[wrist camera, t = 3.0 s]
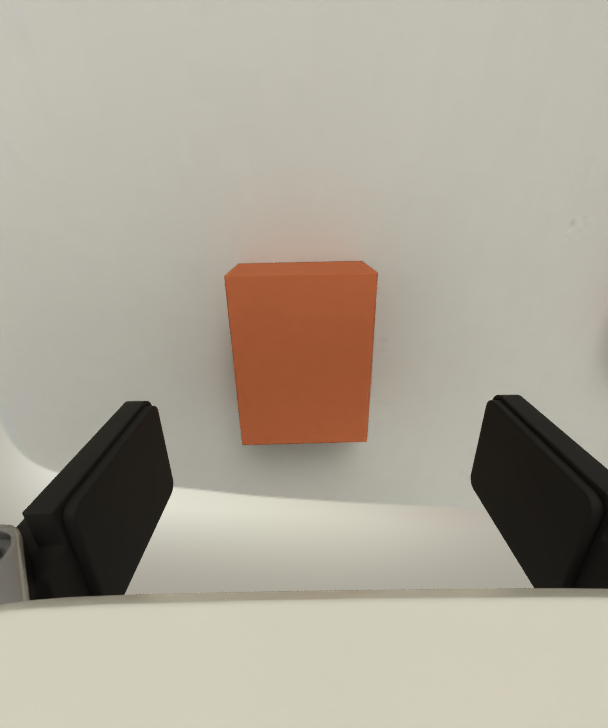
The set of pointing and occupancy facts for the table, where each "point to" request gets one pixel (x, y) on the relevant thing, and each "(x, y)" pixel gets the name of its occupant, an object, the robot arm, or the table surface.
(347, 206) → the table surface
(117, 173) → the table surface
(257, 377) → the orange rectangular block
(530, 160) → the table surface
